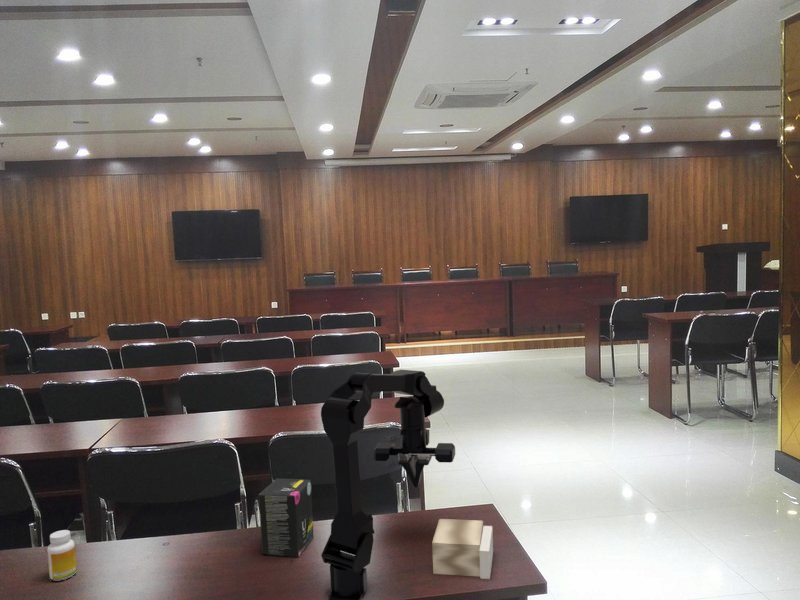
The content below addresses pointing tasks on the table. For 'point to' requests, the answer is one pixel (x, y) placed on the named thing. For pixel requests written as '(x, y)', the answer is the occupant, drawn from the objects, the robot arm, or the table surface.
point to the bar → (486, 552)
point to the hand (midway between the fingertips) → (416, 486)
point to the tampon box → (286, 517)
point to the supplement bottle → (61, 555)
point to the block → (457, 547)
